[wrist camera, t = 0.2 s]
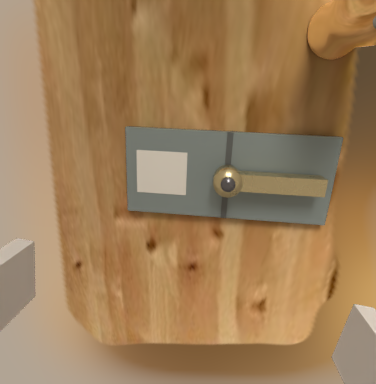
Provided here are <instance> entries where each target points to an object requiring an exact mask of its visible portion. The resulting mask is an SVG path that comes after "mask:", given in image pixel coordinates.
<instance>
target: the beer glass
mask: <svg viewBox="0 0 376 384" xmlns="http://www.w3.org/2000/svg"><path fill="white" fill-rule="evenodd" d="M307 39H308V44H309V46H310V48H311V50H312V51H313V52H314V53H315V54H316V55H317V56H319V57H321V58H324V59H337V58H340V57H342V56H344V55H346V54H348V53H349V52H350V51H352V50H353V49H354V48H355V47H365V46H373V45H376V0H332V1H330V2H328V3H326V4H324V5H323V6H322V7H321V8H319V9H318V10H317V11H316V13H315V14H314V15H313V17H312V19H311V21H310V23H309V26H308V31H307Z"/></svg>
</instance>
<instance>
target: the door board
mask: <svg viewBox="0 0 376 384" xmlns="http://www.w3.org/2000/svg"><path fill="white" fill-rule="evenodd" d="M125 132H126V166H127V199H128V210H129V211H142V212H156V213H169V214H182V215H195V216H208V217H220V218H235V219H248V220H261V221H275V222H288V223H301V224H314V225H325V221H326V217H327V212H328V207H329V202H330V198H331V193H332V188H333V184H334V179H335V174H336V170H337V165H338V160H339V155H340V151H341V146H342V141H343V137H337V136H316V135H296V134H275V133H255V132H234V131H214V130H193V129H172V128H152V127H131V126H127V127H125ZM222 165H232V166H234V167H236V168H237V169H238V170H239V171H255V172H271V173H288V174H304V175H321V176H322V177H324V178H326V179H327V180H328V184H327V189H326V194H325V197H312V196H297V195H282V194H267V193H252V192H239V193H238V194H237V195H235V196H233V197H229V198H227V197H222V196H220V195H219V194H218V193H217V192H216V191H215V189H214V186H213V177H214V173H215V171H216V170H217V169H218V168H219V167H220V166H222Z"/></svg>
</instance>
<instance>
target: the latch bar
mask: <svg viewBox="0 0 376 384" xmlns="http://www.w3.org/2000/svg"><path fill="white" fill-rule="evenodd" d="M327 184H328V180H327V179H326V178H324V177H322V176H321V175H304V174H288V173H271V172H255V171H239V170H238V169H237V168H236V167H234V166H232V165H222V166H220V167H219V168H218V169H217V170H216V171H215V173H214V177H213V186H214V189H215V191H216V192H217V193H218V194H219V195H220V196H222V197H227V198H229V197H233V196H235V195H237V194H238V193H239V192H252V193H267V194H282V195H297V196H312V197H325V194H326V189H327Z"/></svg>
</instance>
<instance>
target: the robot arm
mask: <svg viewBox="0 0 376 384" xmlns="http://www.w3.org/2000/svg"><path fill="white" fill-rule="evenodd" d="M34 252H35V251H34V241H30V240H24V239H19V238H16V239H14V240H13V241H11V242H10V243H8V244H7V245H5V246H3V247H2V248H0V331H1V330H2V329H3V328H4V327H5V326H6V325H7V324H8V323H9V322H10V321H11V320H12V319H13V318H14V317H15V316H16V315H17V314H18V313H19V312H20V311H21V310H22V309H23V308H24V307H25V306H26V305H27V304H28V303H29V302H30V301H31V300H32V299H33V298H34V297H35V255H34V254H35V253H34ZM332 359H333V361H334V363H335V365H336V367H337V370H338V372H339V374H340V376H341V378H342V380H343V382H344V384H376V310H375V309H374V308H372V307H366V306H361V305H357V304H354V305H353V308H352V310H351V312H350V314H349V317H348V319H347V321H346V324H345V327H344V329H343V331H342V334H341V336H340V338H339V341H338V343H337V346H336V348H335V350H334V353H333V355H332Z"/></svg>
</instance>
